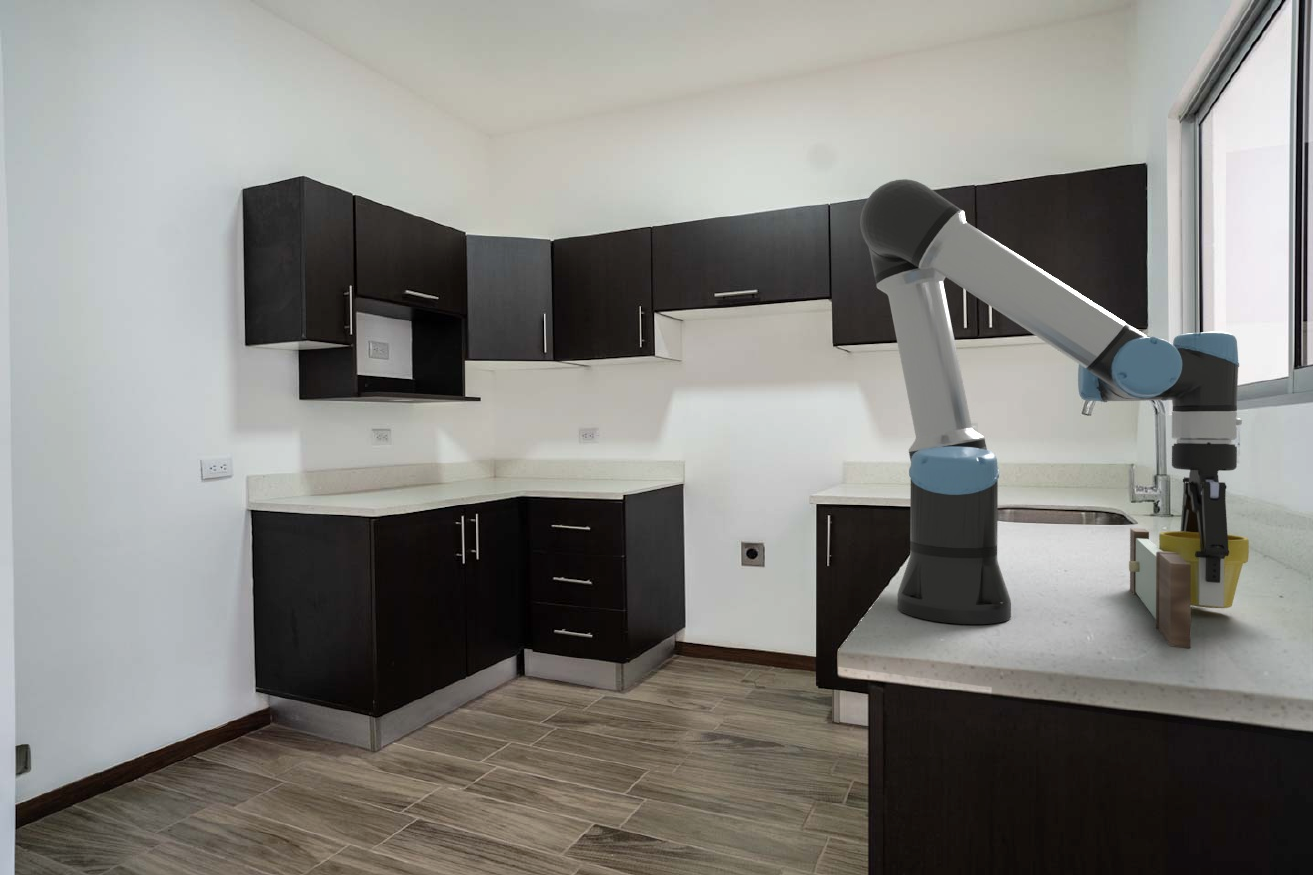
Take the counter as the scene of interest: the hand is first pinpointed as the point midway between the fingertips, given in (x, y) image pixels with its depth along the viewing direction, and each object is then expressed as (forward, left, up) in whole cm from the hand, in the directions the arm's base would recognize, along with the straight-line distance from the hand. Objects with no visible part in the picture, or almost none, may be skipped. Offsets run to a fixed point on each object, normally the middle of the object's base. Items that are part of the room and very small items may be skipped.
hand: (1201, 597), depth 108 cm
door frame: (-6, -4, -2) cm, 8 cm away
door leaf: (-7, -1, -2) cm, 7 cm away
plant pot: (0, 0, -1) cm, 1 cm away
